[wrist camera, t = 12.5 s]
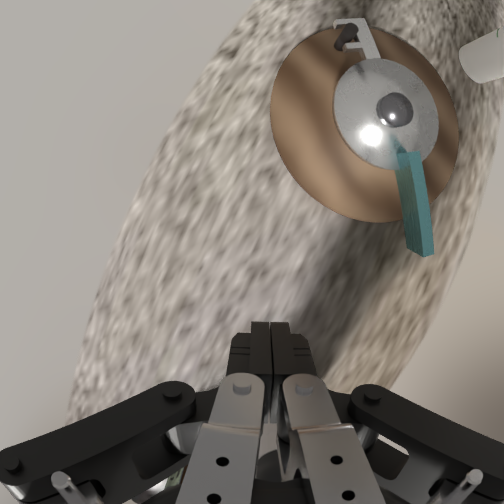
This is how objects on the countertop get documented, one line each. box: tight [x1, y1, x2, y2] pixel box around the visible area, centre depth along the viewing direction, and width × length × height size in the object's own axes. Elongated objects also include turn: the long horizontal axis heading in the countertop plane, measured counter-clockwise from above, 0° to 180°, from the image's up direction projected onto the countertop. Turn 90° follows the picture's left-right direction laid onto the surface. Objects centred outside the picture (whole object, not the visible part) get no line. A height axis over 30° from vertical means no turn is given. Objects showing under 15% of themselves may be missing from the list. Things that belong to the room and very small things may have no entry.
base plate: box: [270, 23, 459, 223], centre depth 31 cm, size 28×28×8 cm
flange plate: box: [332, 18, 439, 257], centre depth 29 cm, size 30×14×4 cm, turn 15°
